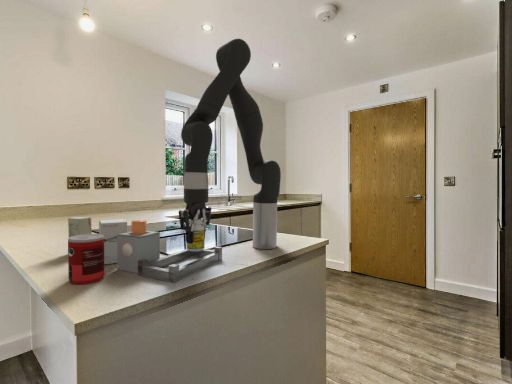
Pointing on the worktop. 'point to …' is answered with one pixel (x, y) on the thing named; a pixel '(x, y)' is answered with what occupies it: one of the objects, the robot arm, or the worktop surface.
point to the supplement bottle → (197, 237)
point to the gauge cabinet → (137, 249)
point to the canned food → (86, 258)
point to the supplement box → (111, 237)
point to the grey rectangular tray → (175, 272)
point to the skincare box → (79, 226)
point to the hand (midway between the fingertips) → (195, 240)
